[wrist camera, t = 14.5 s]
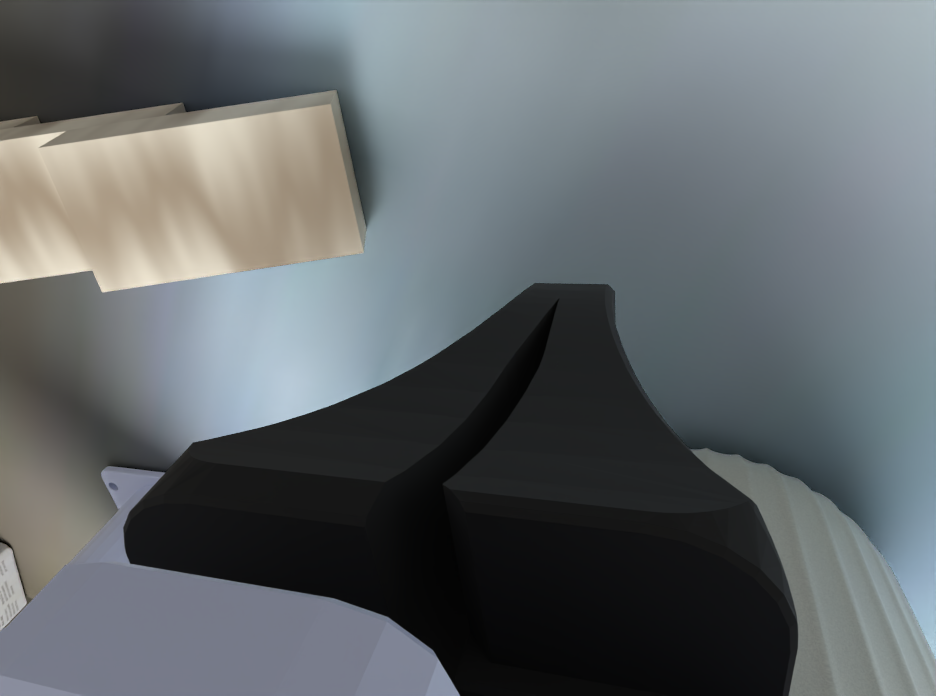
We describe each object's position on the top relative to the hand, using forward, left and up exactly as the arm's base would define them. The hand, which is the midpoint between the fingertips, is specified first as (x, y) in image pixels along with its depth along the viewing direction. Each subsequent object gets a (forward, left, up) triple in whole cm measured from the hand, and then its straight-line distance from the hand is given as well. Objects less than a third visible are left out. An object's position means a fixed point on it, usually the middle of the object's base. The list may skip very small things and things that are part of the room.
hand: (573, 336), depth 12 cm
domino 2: (0, +8, -8) cm, 12 cm away
